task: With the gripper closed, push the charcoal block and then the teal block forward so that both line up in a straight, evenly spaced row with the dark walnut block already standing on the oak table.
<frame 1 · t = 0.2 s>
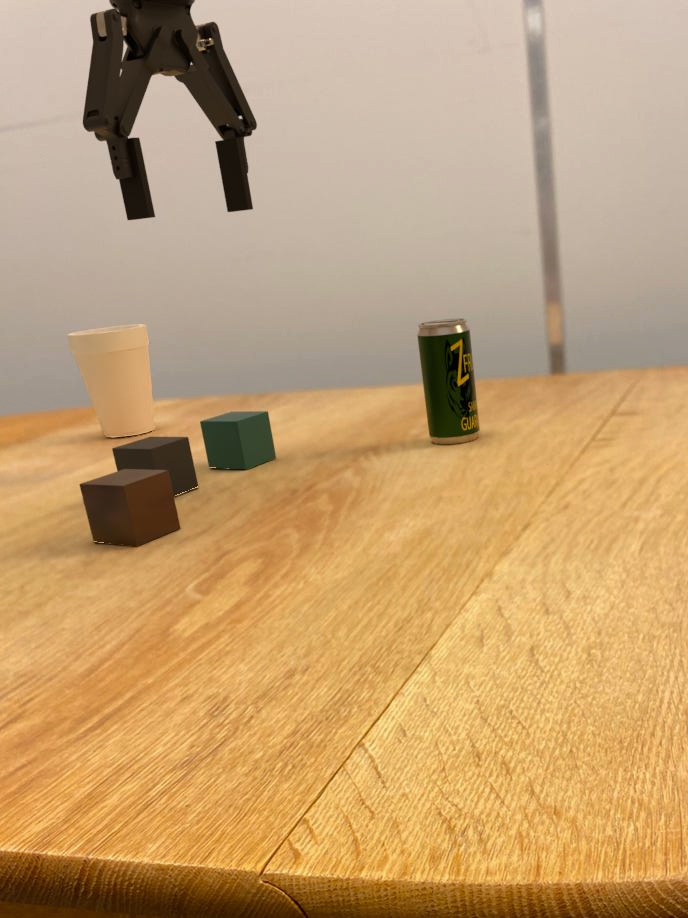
hand: (193, 215, 101), 24 cm above the table, tool pointing down, fingers open, 13 cm apart
teal block: (243, 463, 112), on the table
foam cup: (130, 434, 138), on the table
beer can: (455, 441, 112), on the table
walnut block: (137, 535, 88), on the table
charcoal block: (161, 494, 102), on the table
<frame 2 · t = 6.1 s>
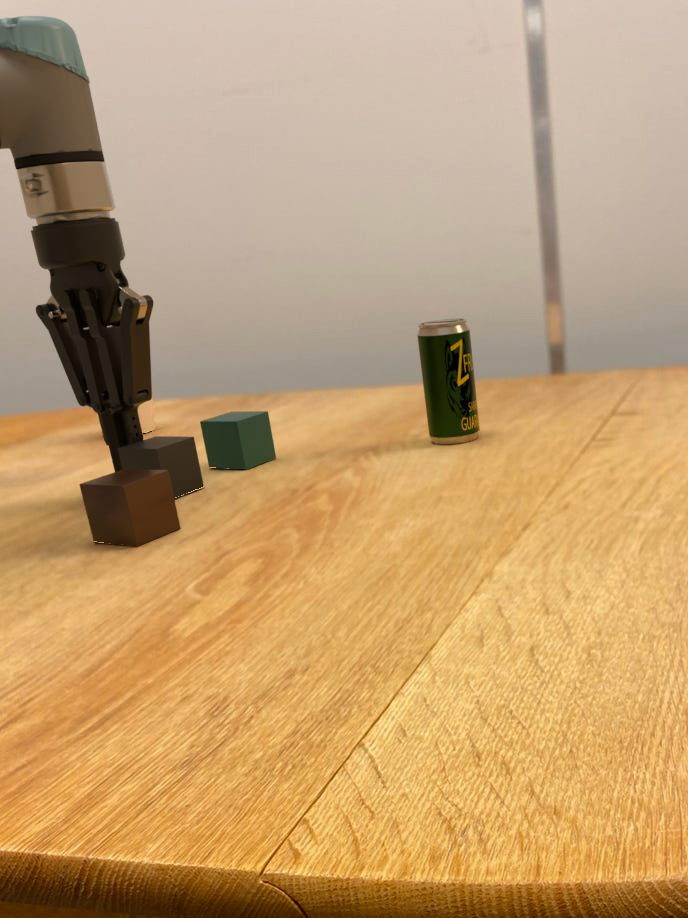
hand: (132, 477, 103), 1 cm above the table, tool pointing down, fingers closed
charcoal block: (167, 493, 102), on the table, touching gripper
everything else where it was.
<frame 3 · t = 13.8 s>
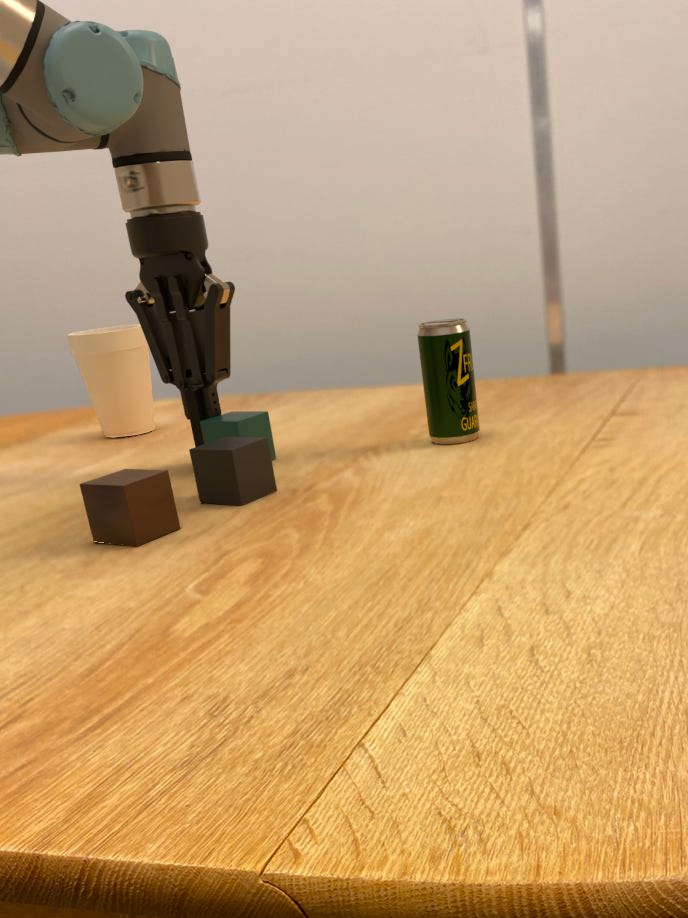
hand: (210, 449, 113), 1 cm above the table, tool pointing down, fingers closed
teal block: (243, 463, 112), on the table, touching gripper
charcoal block: (238, 497, 98), on the table
everything else where it was.
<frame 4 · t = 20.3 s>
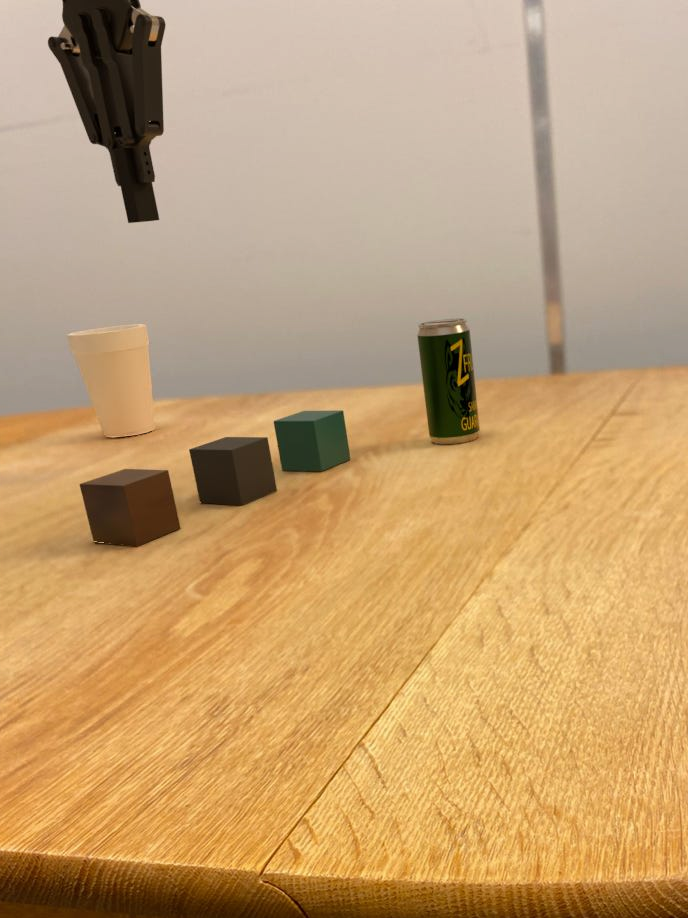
hand: (143, 221, 103), 24 cm above the table, tool pointing down, fingers closed
teal block: (316, 465, 107), on the table
everything else where it was.
at the end: charcoal block 0.6 cm from the target spot on the table beside the walnut block, on the table; teal block 0.6 cm from the target spot on the table beside the walnut block, on the table; walnut block moved 0.0 cm from its start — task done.
